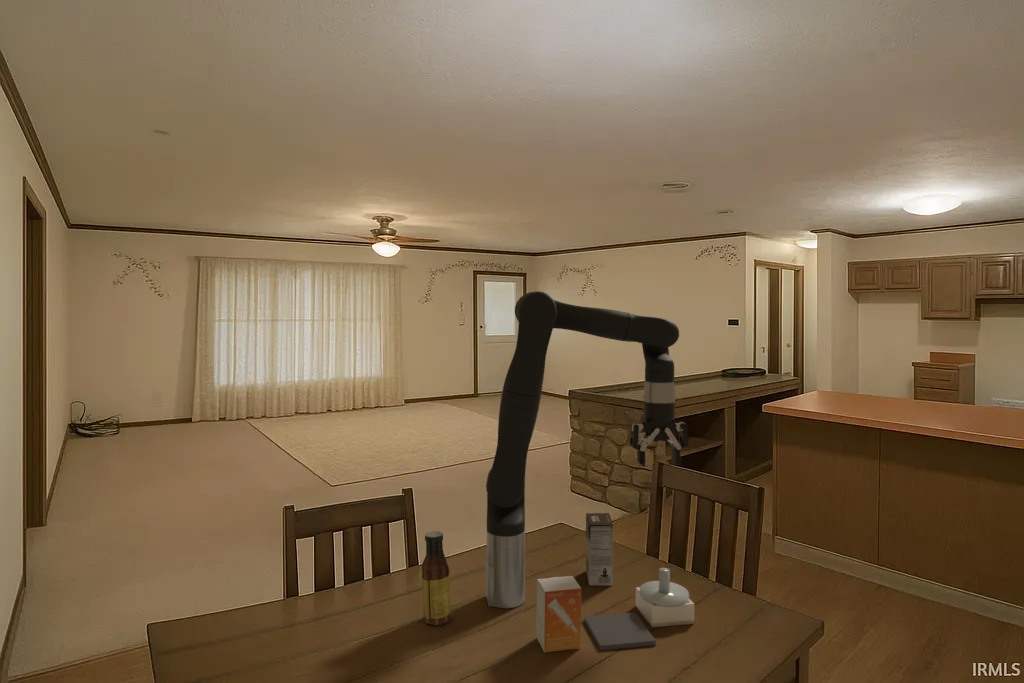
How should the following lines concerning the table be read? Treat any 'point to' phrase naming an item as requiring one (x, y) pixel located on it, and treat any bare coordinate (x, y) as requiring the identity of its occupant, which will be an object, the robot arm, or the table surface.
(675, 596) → the lid
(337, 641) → the table surface
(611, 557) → the coffee box
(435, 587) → the sauce bottle
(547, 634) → the small box
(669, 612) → the open square container
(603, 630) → the mat
